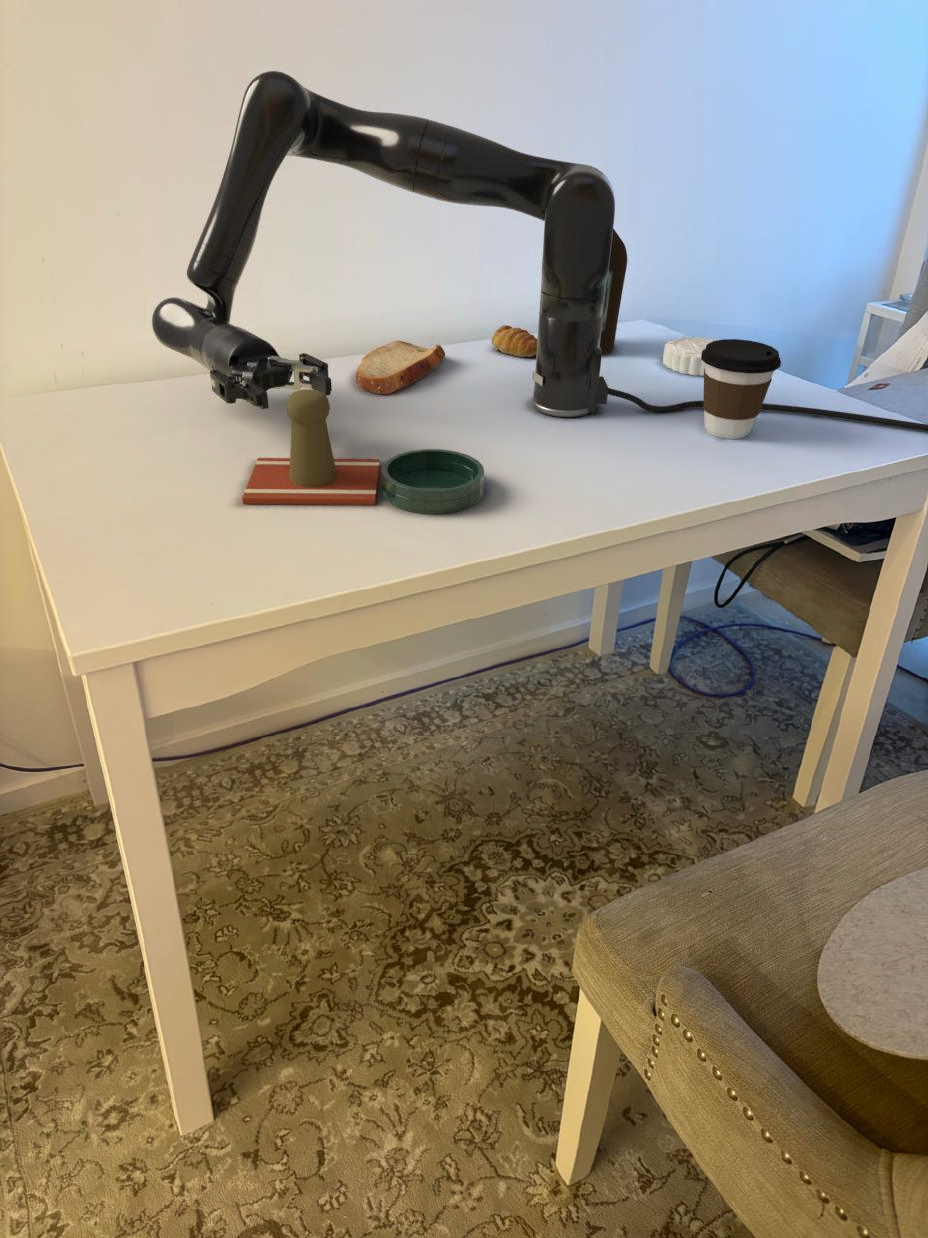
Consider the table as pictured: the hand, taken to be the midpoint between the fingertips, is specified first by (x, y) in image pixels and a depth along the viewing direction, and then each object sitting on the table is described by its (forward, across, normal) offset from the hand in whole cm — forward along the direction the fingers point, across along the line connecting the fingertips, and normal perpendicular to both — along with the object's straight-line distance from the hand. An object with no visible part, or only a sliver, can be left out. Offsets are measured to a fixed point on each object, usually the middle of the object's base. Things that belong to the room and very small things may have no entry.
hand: (297, 394), depth 111 cm
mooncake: (-2, +78, +11) cm, 79 cm away
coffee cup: (+20, +58, +11) cm, 63 cm away
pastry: (-26, +57, +11) cm, 63 cm away
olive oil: (-20, +69, +11) cm, 72 cm away
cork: (+3, 0, +10) cm, 11 cm away
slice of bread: (-27, +33, +11) cm, 44 cm away
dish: (+13, +11, +11) cm, 20 cm away
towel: (+3, 0, +11) cm, 11 cm away
